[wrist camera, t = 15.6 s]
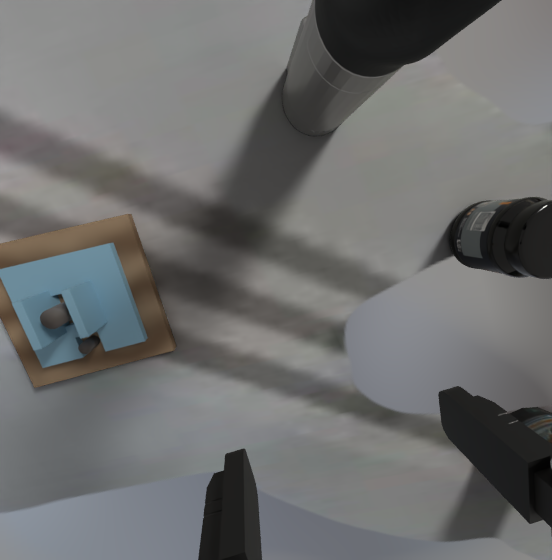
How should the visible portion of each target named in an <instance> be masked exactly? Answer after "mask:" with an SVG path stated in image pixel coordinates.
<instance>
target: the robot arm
mask: <svg viewBox="0 0 552 560" xmlns="http://www.w3.org/2000/svg"><path fill="white" fill-rule="evenodd" d="M500 1H501V0H312V3H311V6H310V10H309V13H308V16H307V17H304V18H303V19H302V21H301V23H300V26H299V29H298V33H297V36H296V39H295V42H294V45H293V49H292V52H291V55H290V58H289V61H288V65H287V72H288V75H287V78H286V81H285V84H284V87H283V93H282V103H283V108H284V111H285V114H286V116H287V118H288V120H289V121H290V123H291V124H292V125H293V126H294V127H295V128H296V129H297V130H299V131H301V132H302V133H305V134H307V135H312V136H320V135H325V134H328V133H330V132H331V131H333V130H335V129H336V128H337V127H338V126H339V125H341V124H342V122H343V121H344V120H346V119H347V118H348V117H349V116H350V115H351V114H352V113H353V112H354V111H355V110H356V109H357V108H359V107H360V106H361V105H362V104H363V103H364V102H365V101H366V100H367V99H368V98H369V97H370V96H371V95H373V94H374V93H375V92H376V91H377V90H378V89H379V88H380V87H381V86H382V85H383V84H384V83H385V82H386V81H388V80H389V79H390V78H391V77H392V76H393V75H394V74H395V73H396V72H397V71H398V70H399V69H400V68H401V67H402V66H404V65H406V64H410V63H414V62H417V61H419V60H421V59H423V58H425V57H427V56H428V55H430V54H431V53H433V52H434V51H435V50H436V49H438V48H439V47H440V46H442V45H443V44H444V43H445V42H447V41H448V40H449V39H451V38H452V37H453V36H455V35H456V34H457V33H459V32H460V31H461V30H463V29H464V28H465V27H467V26H468V25H469V24H471V23H472V22H473V21H475V20H476V19H477V18H479V17H480V16H481V15H483V14H484V13H485V12H487V11H488V10H489V9H491V8H492V7H493V6H495V5H496V4H497V3H499V2H500ZM439 405H440V413H441V422H442V426H443V429H444V431H445V433H446V435H447V436H448V438H449V439H450V440H451V441H452V443H453V444H454V445H455V446H456V447H457V448H458V449H459V450H460V451H461V452H462V453H463V454H464V455H465V456H466V457H467V458H468V459H469V460H470V461H471V463H472V464H473V465H474V466H475V467H476V468H477V469H478V470H479V471H480V472H481V473H482V474H483V475H484V476H485V477H486V478H487V479H488V480H489V482H490V483H491V484H492V485H493V486H494V487H495V488H496V489H497V490H498V491H499V492H500V493H501V494H502V495H503V496H504V497H505V498H506V499H507V500H508V502H509V503H510V504H511V505H512V506H513V507H514V508H515V509H516V510H517V511H518V512H519V513H520V514H521V515H522V516H523V517H524V518H525V519H526V520H527V522H528V523H529V524H532V523H535V522H538V521H541V520H544V521H545V522H546V523H547V524H548V525H549V526H550V527H551V535H552V444H551V443H550V442H548V441H547V440H545V439H544V438H543V437H541V436H540V435H538V434H537V433H536V432H534V431H533V430H532V429H530V428H529V427H527V426H526V425H525V424H523V423H522V422H519V421H518V419H516V418H515V417H514V416H512V415H511V414H508V413H507V411H505V410H504V409H503V408H501V407H500V406H498V405H497V404H496V403H494V402H492V401H490V400H487V399H485V398H483V397H480V396H474V397H473V396H472V395H470V394H469V393H468V392H467V391H465V390H464V389H463V388H461V387H459V386H457V387H453V388H450V389H447V390H443V391H440V392H439ZM259 523H260V522H259V507H258V494H257V488H256V483H255V479H254V476H253V472H252V469H251V466H250V463H249V459H248V456H247V453H246V450H245V449H240V450H237V451H234V452H230V453H227V454H226V455H225V464H224V471H221V472H217V473H214V475H213V477H212V479H211V481H210V483H209V485H208V487H207V492H206V500H205V508H204V518H203V525H202V534H201V542H200V550H199V559H198V560H262V554H261V553H262V552H261V537H260V524H259Z"/></svg>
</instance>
